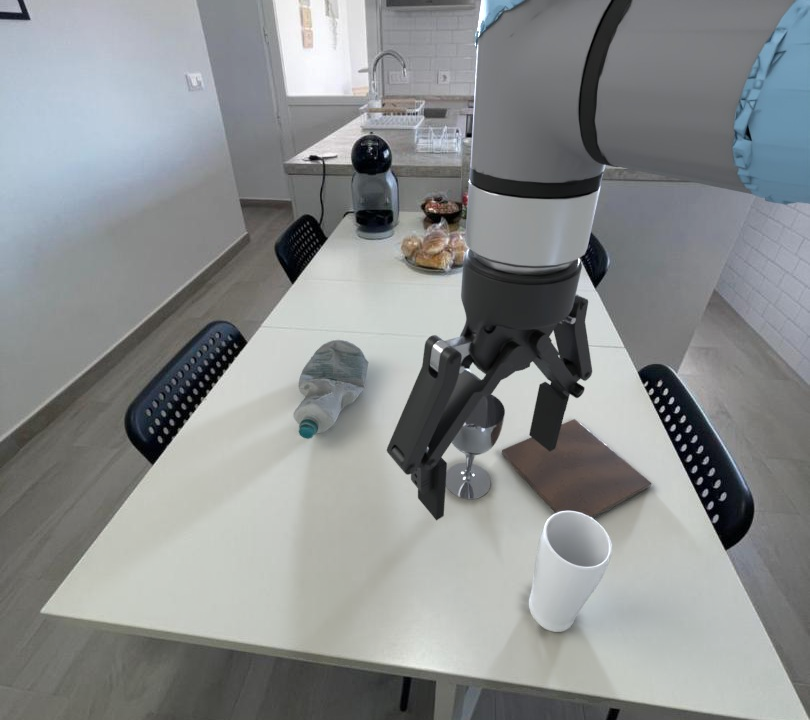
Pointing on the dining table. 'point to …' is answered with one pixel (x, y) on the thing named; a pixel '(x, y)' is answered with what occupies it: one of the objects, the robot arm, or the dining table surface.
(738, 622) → the dining table surface
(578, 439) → the walnut board
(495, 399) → the silver metal goblet
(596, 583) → the drinking glass
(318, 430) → the crushed plastic bottle
